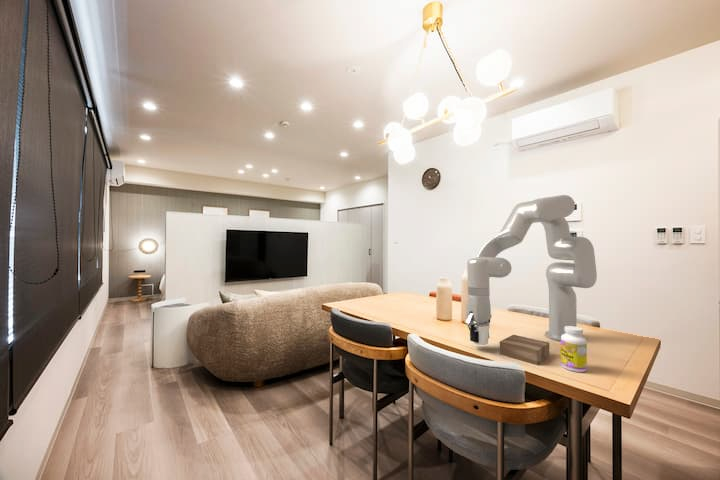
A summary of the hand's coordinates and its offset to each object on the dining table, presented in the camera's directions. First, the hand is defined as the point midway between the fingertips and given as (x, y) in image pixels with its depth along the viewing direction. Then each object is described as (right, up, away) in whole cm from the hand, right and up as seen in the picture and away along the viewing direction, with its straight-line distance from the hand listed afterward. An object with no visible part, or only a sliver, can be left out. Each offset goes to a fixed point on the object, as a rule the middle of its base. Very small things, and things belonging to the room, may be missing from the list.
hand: (479, 339), depth 109 cm
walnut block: (+13, -4, -6) cm, 15 cm away
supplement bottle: (+23, -4, -17) cm, 29 cm away
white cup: (0, -1, 0) cm, 1 cm away
